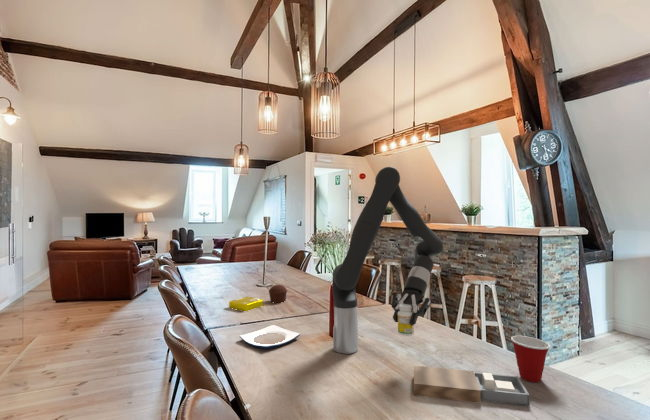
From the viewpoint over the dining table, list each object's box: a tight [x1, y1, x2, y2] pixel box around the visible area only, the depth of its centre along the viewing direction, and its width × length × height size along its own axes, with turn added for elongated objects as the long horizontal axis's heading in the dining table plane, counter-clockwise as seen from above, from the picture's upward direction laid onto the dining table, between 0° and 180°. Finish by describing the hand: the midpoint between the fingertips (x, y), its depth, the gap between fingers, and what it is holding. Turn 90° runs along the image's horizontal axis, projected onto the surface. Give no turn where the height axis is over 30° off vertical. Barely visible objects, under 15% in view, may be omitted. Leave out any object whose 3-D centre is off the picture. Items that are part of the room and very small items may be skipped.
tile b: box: [494, 380, 515, 392], centre depth 99 cm, size 4×4×2 cm
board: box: [413, 365, 482, 404], centre depth 103 cm, size 18×12×4 cm, turn 75°
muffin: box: [268, 284, 288, 304], centre depth 211 cm, size 12×11×10 cm
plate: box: [239, 324, 301, 350], centre depth 146 cm, size 20×20×3 cm
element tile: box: [228, 296, 264, 312], centre depth 200 cm, size 15×15×5 cm
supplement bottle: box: [397, 303, 415, 337], centre depth 118 cm, size 5×5×10 cm
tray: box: [474, 372, 531, 407], centre depth 100 cm, size 12×11×3 cm
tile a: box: [481, 372, 495, 390], centre depth 100 cm, size 4×4×2 cm
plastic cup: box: [510, 335, 551, 383], centre depth 109 cm, size 11×11×12 cm
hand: (403, 322), depth 116 cm, fingers closed on supplement bottle, 5 cm apart
